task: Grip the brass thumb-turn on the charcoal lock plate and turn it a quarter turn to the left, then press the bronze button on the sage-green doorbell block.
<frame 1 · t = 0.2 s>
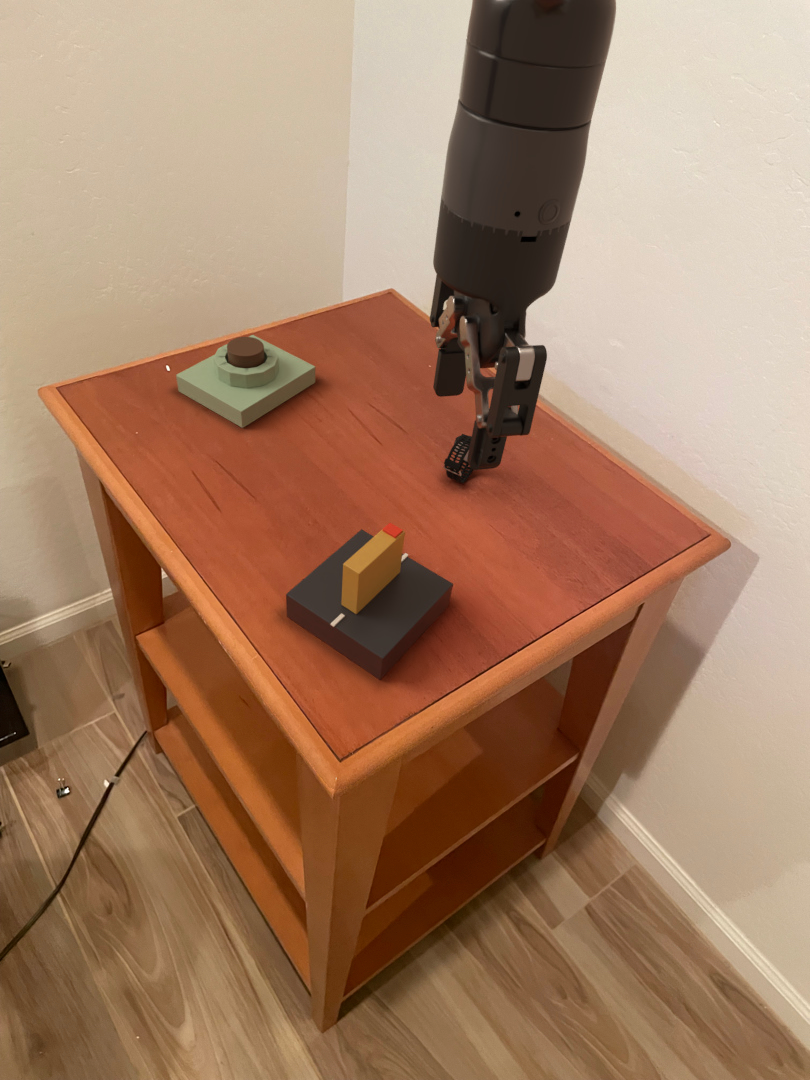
hand: (464, 428, 53), 18 cm above the table, tool pointing down, fingers open, 8 cm apart
smartwatch: (456, 478, 77), on the table
lock knob: (373, 567, 59), point 6 cm above the table, hinge at 0.0°
doorbell: (248, 386, 85), on the table
bell button: (245, 353, 81), point 4 cm above the table, slide at 0.1 cm
lock plate: (369, 611, 63), on the table
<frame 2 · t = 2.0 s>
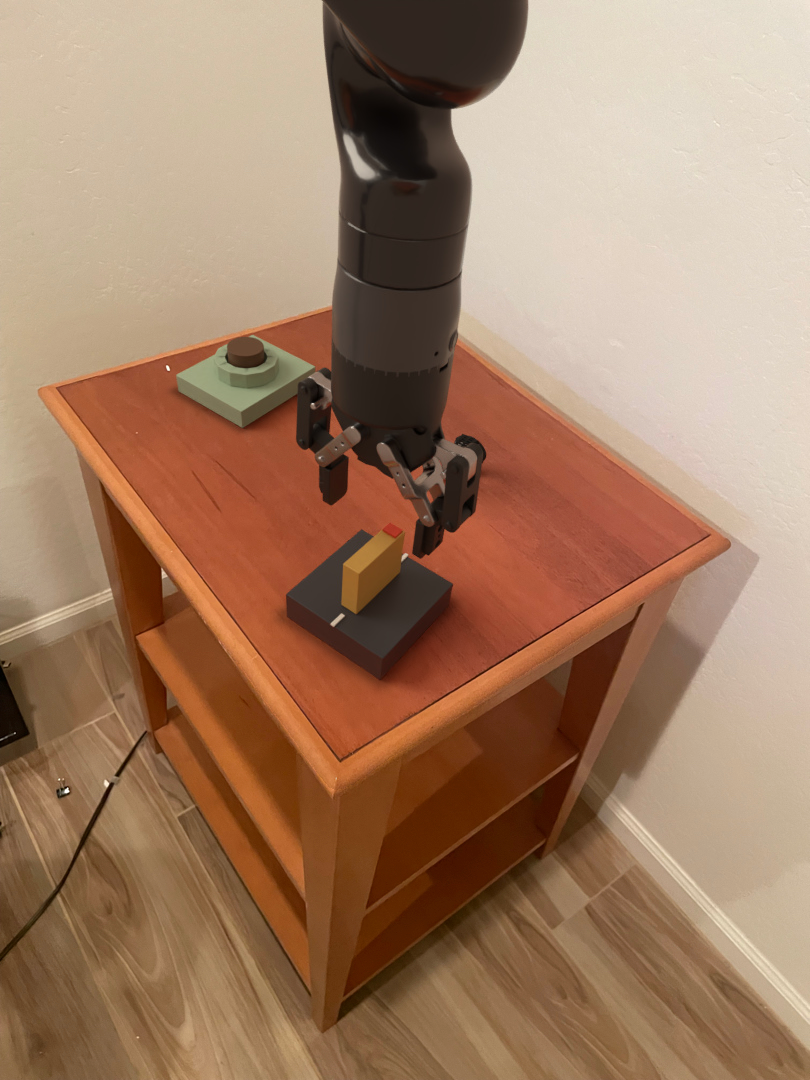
hand: (378, 524, 56), 11 cm above the table, tool pointing down, fingers open, 8 cm apart
nothing on the table moved.
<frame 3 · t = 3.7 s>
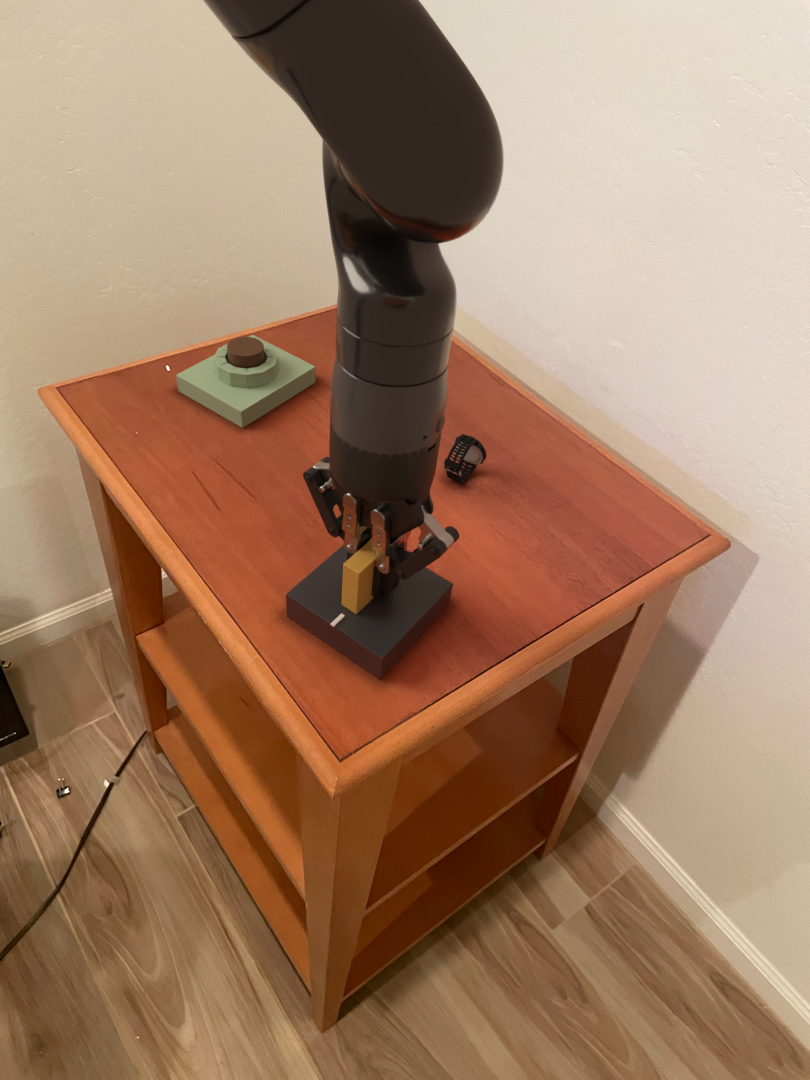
hand: (371, 584, 61), 4 cm above the table, tool pointing down, fingers closed on lock knob
lock knob: (373, 567, 59), point 6 cm above the table, hinge at 0.0°, touching gripper
everything else where it was.
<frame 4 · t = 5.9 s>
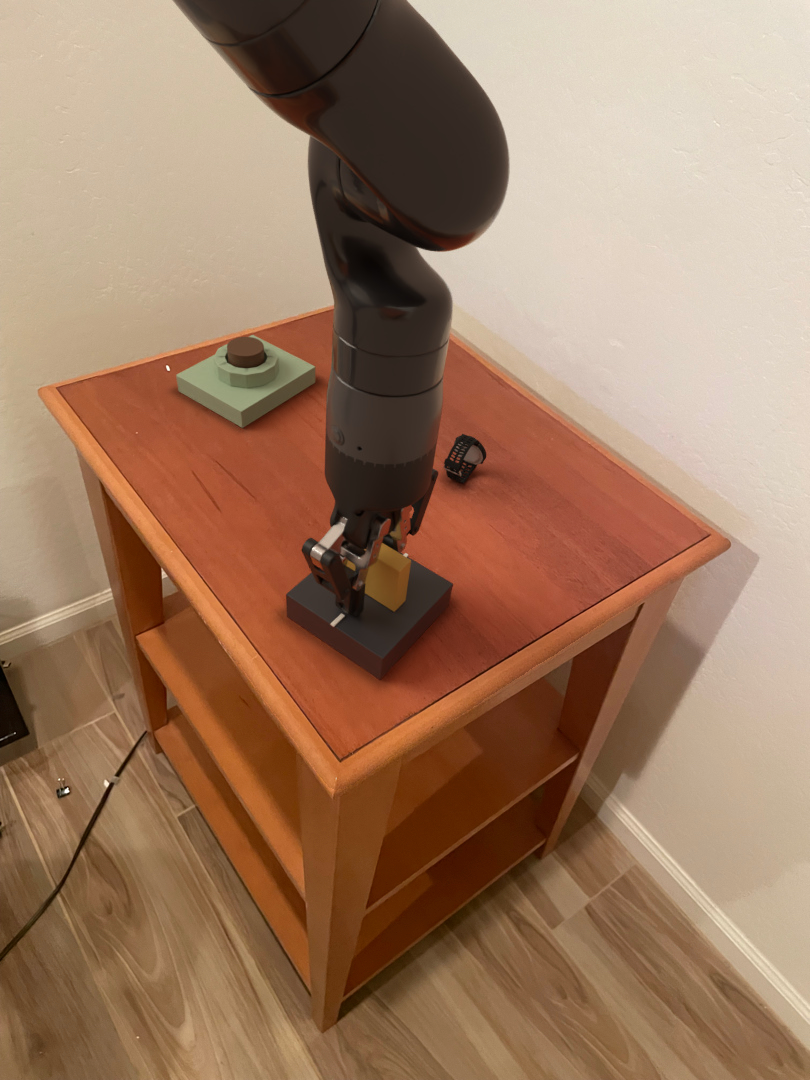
hand: (366, 593, 61), 3 cm above the table, tool pointing down, fingers open, 4 cm apart
lock knob: (373, 567, 59), point 6 cm above the table, hinge at 89.7°
everything else where it was.
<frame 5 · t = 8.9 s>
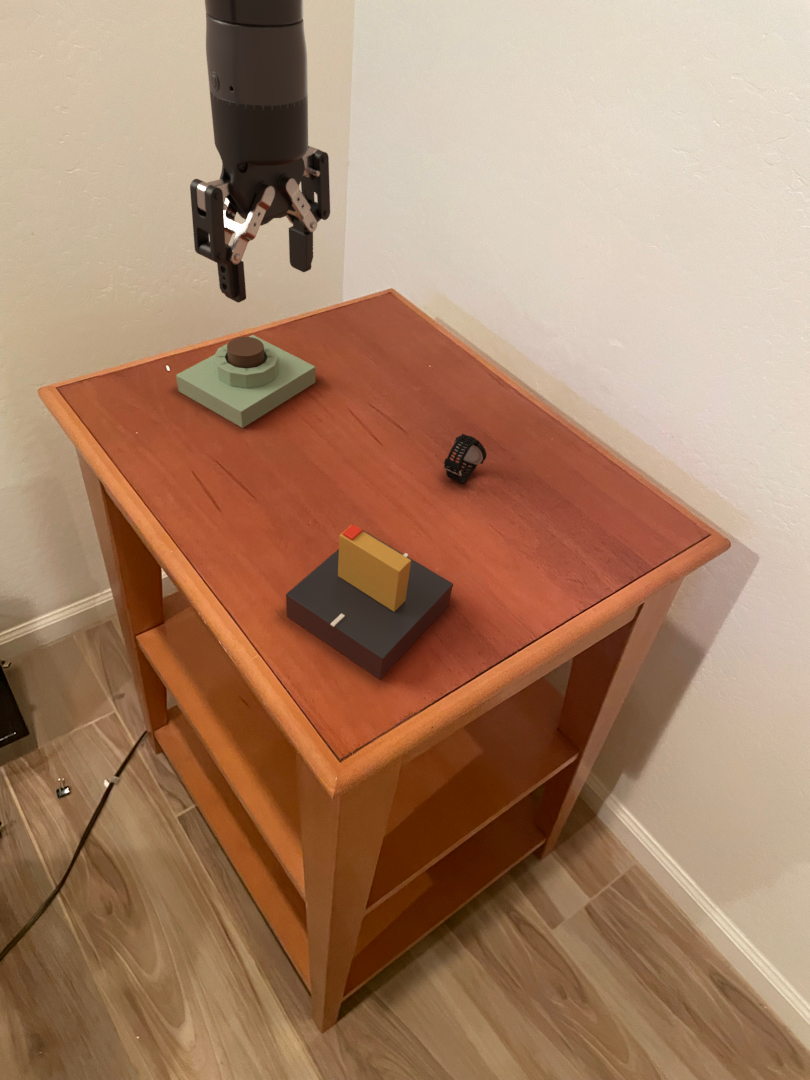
hand: (269, 282, 68), 16 cm above the table, tool pointing down, fingers open, 8 cm apart
nothing on the table moved.
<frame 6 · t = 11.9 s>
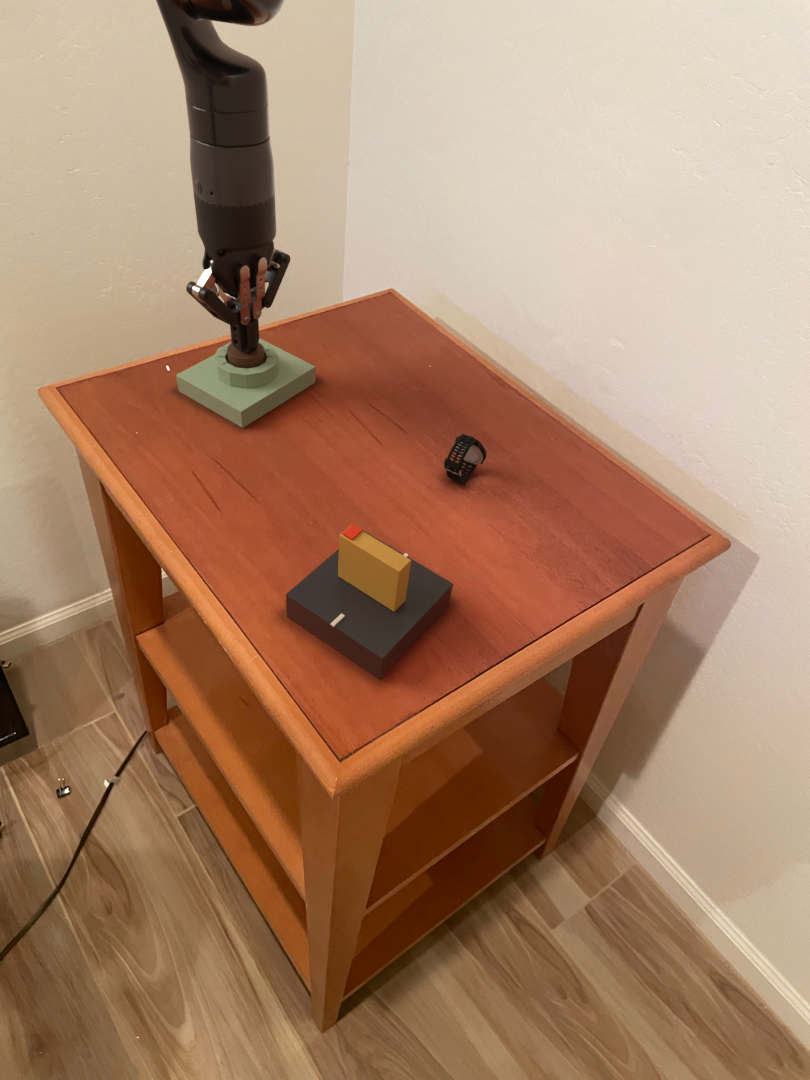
hand: (246, 348, 81), 5 cm above the table, tool pointing down, fingers closed
bell button: (246, 355, 82), point 4 cm above the table, slide at -0.3 cm, touching gripper
everything else where it was.
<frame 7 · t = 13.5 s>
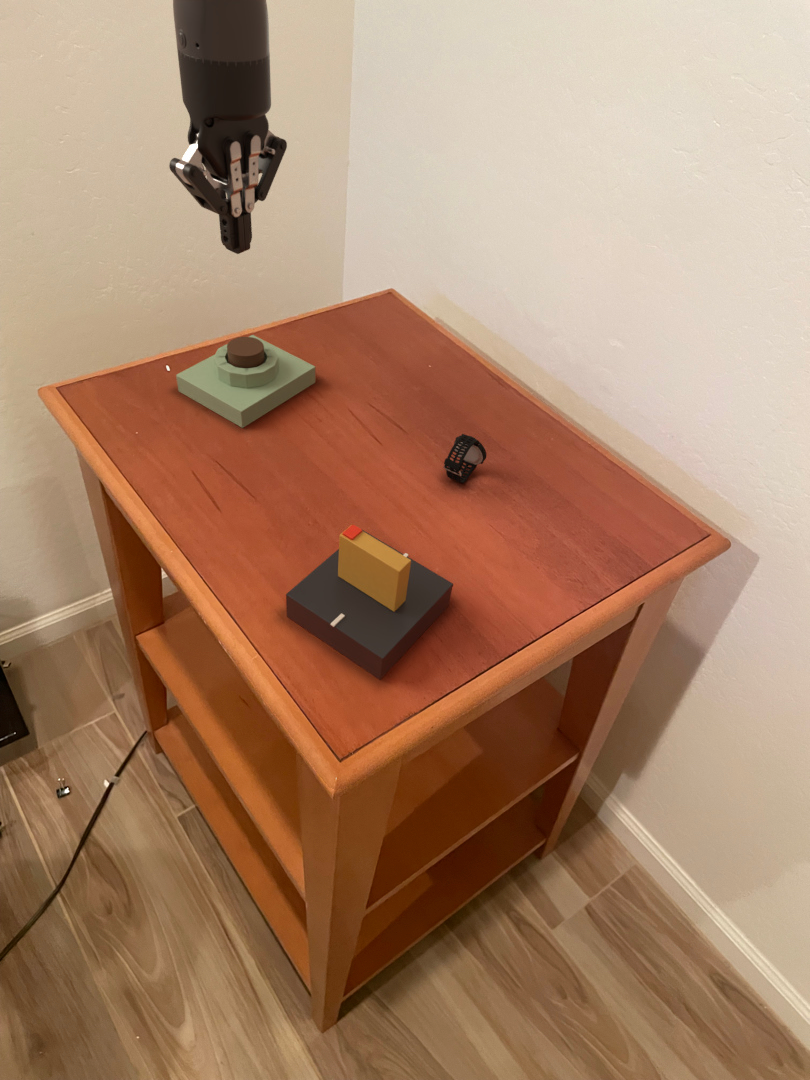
hand: (237, 249, 73), 16 cm above the table, tool pointing down, fingers closed
bell button: (245, 353, 81), point 4 cm above the table, slide at 0.1 cm
everything else where it was.
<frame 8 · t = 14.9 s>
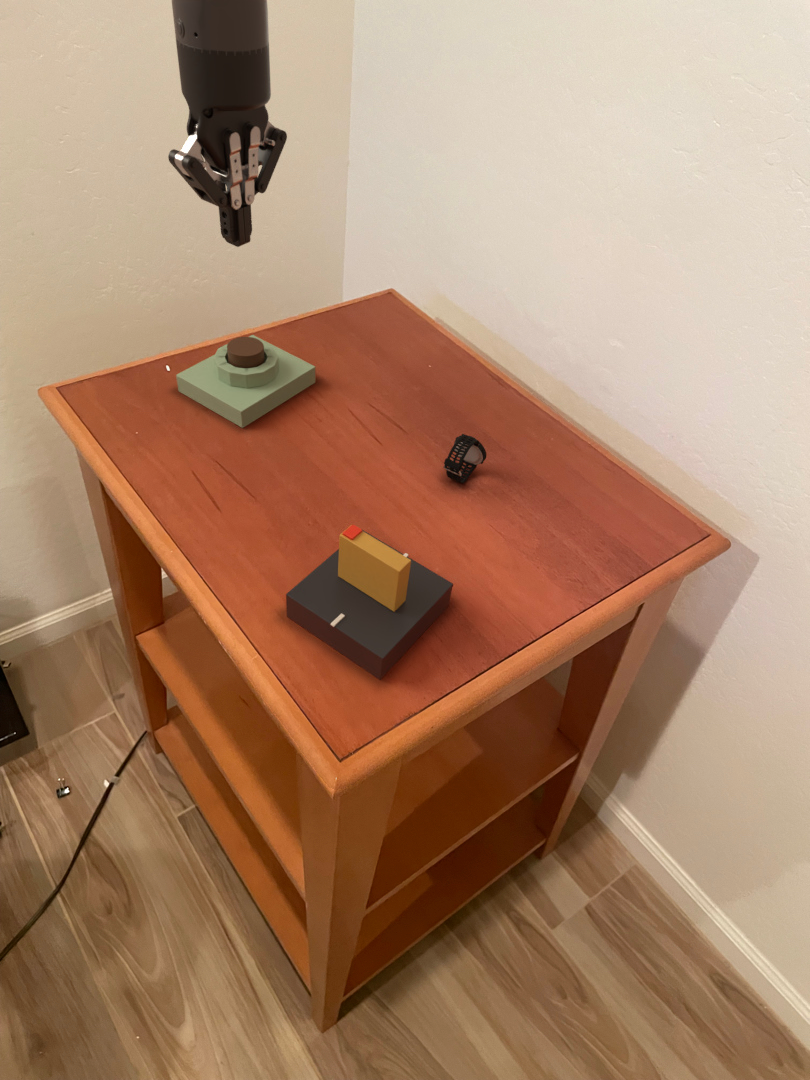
hand: (237, 242, 72), 17 cm above the table, tool pointing down, fingers closed
nothing on the table moved.
at the end: lock knob at +90° (first picture: +0°); bell button pushed in 1.1 cm at the most during the clip, back to where it started at the end; bell button slide at 0.1 cm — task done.
